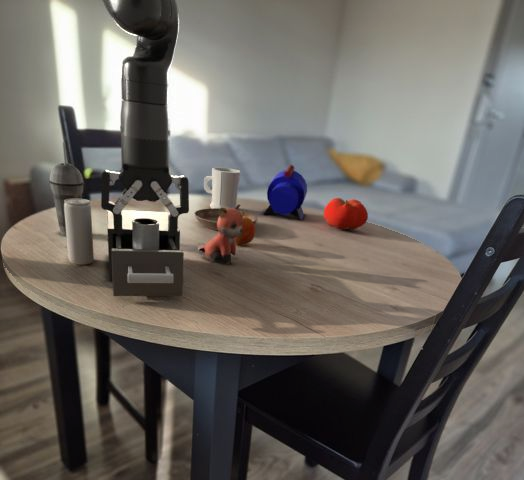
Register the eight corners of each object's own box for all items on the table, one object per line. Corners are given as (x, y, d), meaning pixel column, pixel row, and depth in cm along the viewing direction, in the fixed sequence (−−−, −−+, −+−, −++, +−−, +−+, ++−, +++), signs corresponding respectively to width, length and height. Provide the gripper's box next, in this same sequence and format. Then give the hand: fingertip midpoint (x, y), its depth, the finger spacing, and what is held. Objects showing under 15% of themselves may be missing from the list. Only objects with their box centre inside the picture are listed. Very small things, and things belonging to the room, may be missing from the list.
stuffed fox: (204, 248, 114) (207, 196, 108) (246, 259, 110) (251, 206, 105) (187, 255, 108) (189, 201, 102) (231, 267, 104) (235, 211, 99)
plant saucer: (183, 226, 130) (184, 215, 128) (207, 214, 145) (208, 204, 144) (245, 238, 126) (246, 226, 125) (263, 224, 142) (264, 214, 140)
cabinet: (178, 281, 93) (180, 231, 89) (109, 281, 89) (107, 228, 85) (170, 257, 106) (171, 212, 101) (109, 256, 102) (107, 209, 97)
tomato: (313, 227, 145) (318, 197, 141) (327, 221, 156) (332, 193, 152) (356, 237, 140) (363, 206, 136) (368, 230, 151) (374, 201, 147)
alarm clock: (304, 214, 161) (311, 167, 154) (299, 221, 150) (307, 171, 143) (268, 208, 163) (274, 161, 156) (261, 215, 152) (267, 165, 145)
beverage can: (66, 264, 95) (61, 202, 89) (71, 257, 99) (66, 197, 93) (92, 266, 95) (88, 204, 90) (95, 258, 100) (92, 199, 94)
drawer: (186, 309, 80) (188, 263, 76) (113, 310, 76) (111, 262, 73) (173, 270, 96) (174, 230, 92) (112, 269, 92) (111, 228, 89)
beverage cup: (86, 229, 118) (80, 141, 108) (88, 237, 112) (82, 145, 102) (54, 229, 115) (45, 138, 106) (54, 237, 109) (44, 142, 100)
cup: (209, 212, 149) (211, 171, 143) (201, 205, 156) (203, 166, 150) (241, 212, 152) (244, 173, 147) (232, 206, 160) (235, 168, 154)
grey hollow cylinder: (131, 274, 88) (130, 217, 83) (156, 273, 90) (157, 218, 85) (134, 283, 84) (133, 224, 80) (160, 282, 86) (161, 225, 81)
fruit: (243, 250, 116) (246, 217, 113) (220, 243, 119) (222, 210, 116) (259, 245, 122) (262, 213, 118) (237, 238, 125) (239, 207, 121)
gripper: (187, 136, 81) (184, 231, 88) (98, 127, 77) (102, 228, 84) (194, 141, 75) (190, 243, 82) (97, 132, 71) (102, 241, 78)
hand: (145, 236), depth 83 cm, fingers open, 8 cm apart
